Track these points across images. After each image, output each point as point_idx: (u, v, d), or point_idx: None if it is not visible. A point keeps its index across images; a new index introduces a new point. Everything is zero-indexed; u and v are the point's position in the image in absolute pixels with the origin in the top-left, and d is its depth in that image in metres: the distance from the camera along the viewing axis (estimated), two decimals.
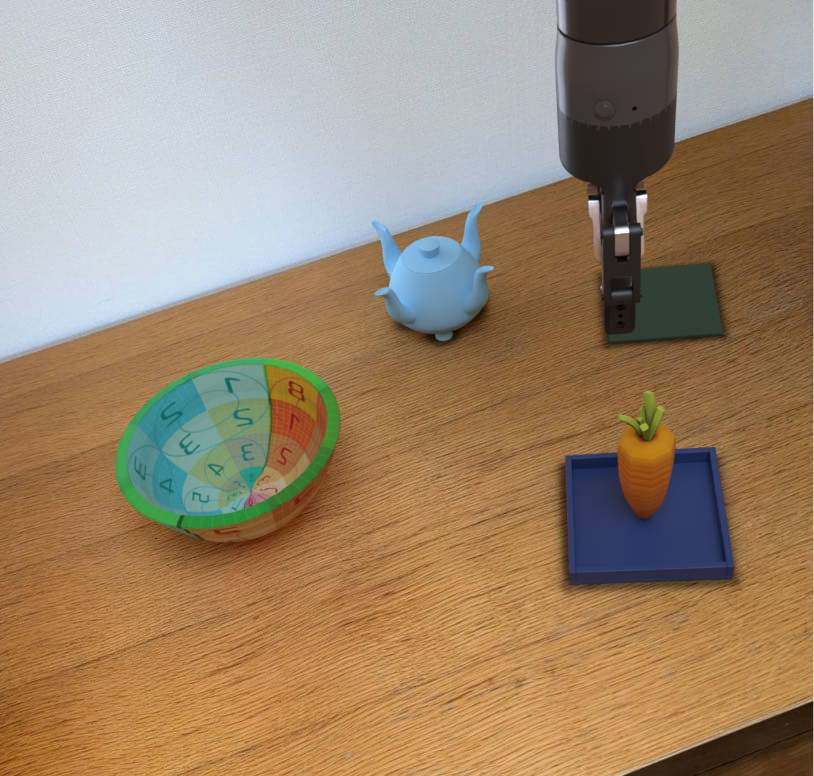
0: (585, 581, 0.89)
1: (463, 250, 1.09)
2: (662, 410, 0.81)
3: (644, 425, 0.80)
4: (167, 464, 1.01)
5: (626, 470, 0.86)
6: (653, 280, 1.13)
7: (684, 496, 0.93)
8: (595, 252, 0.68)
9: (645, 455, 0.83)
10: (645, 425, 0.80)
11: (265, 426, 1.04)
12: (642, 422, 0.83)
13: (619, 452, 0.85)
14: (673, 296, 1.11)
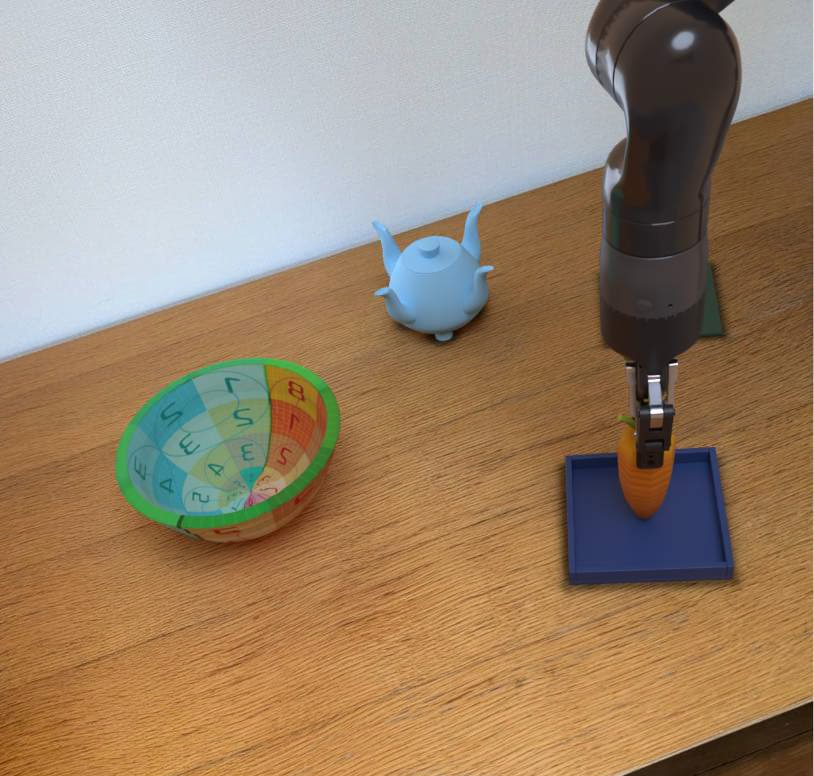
0: (585, 581, 0.89)
1: (463, 250, 1.09)
2: None
3: None
4: (167, 464, 1.01)
5: (626, 470, 0.86)
6: None
7: (684, 496, 0.93)
8: (630, 410, 0.78)
9: None
10: None
11: (265, 426, 1.04)
12: None
13: (619, 452, 0.85)
14: None
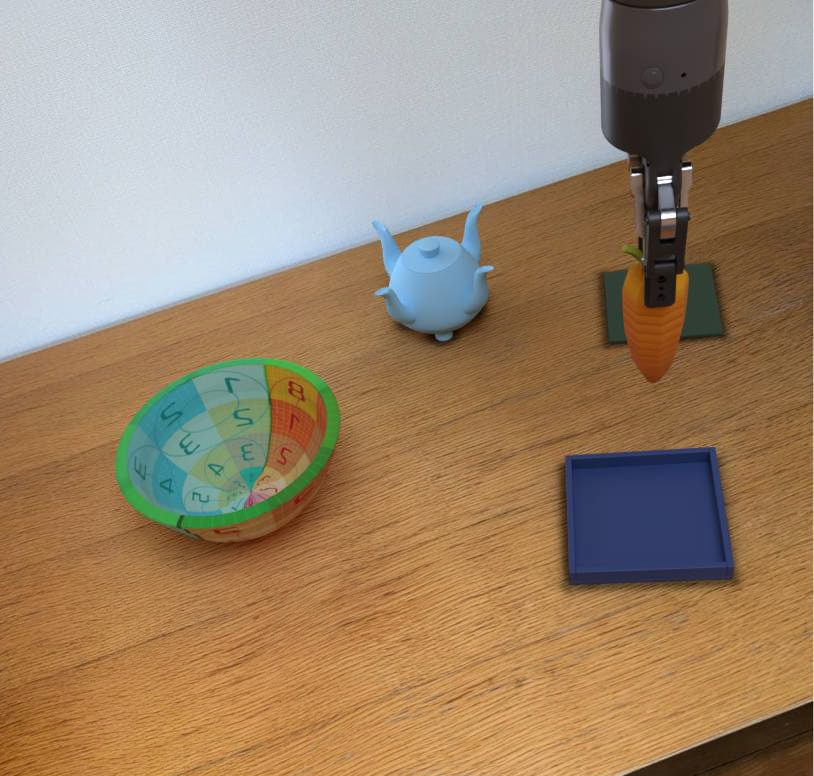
0: (585, 581, 0.89)
1: (463, 250, 1.09)
2: None
3: None
4: (167, 464, 1.01)
5: (632, 316, 0.75)
6: None
7: (684, 496, 0.93)
8: (637, 228, 0.67)
9: None
10: None
11: (265, 426, 1.04)
12: None
13: (624, 294, 0.75)
14: None
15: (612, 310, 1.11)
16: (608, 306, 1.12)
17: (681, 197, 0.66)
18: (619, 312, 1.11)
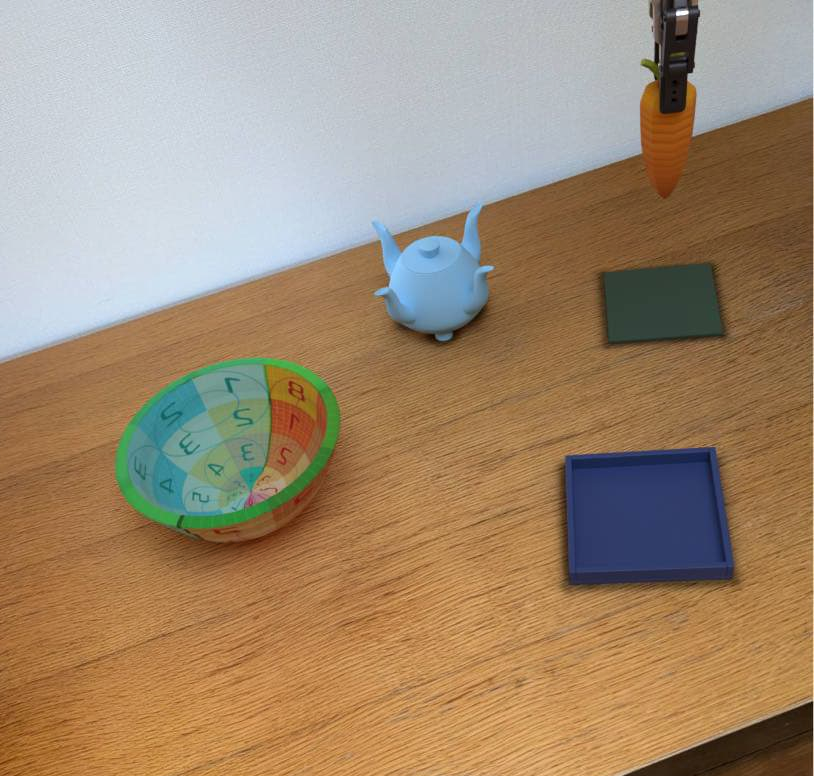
0: (585, 581, 0.89)
1: (463, 250, 1.09)
2: None
3: None
4: (167, 464, 1.01)
5: (648, 126, 0.88)
6: (653, 280, 1.13)
7: (684, 496, 0.93)
8: (655, 34, 0.81)
9: None
10: None
11: (265, 426, 1.04)
12: None
13: (641, 107, 0.88)
14: (673, 296, 1.11)
15: (612, 310, 1.11)
16: (608, 306, 1.12)
17: (692, 6, 0.79)
18: (619, 312, 1.11)
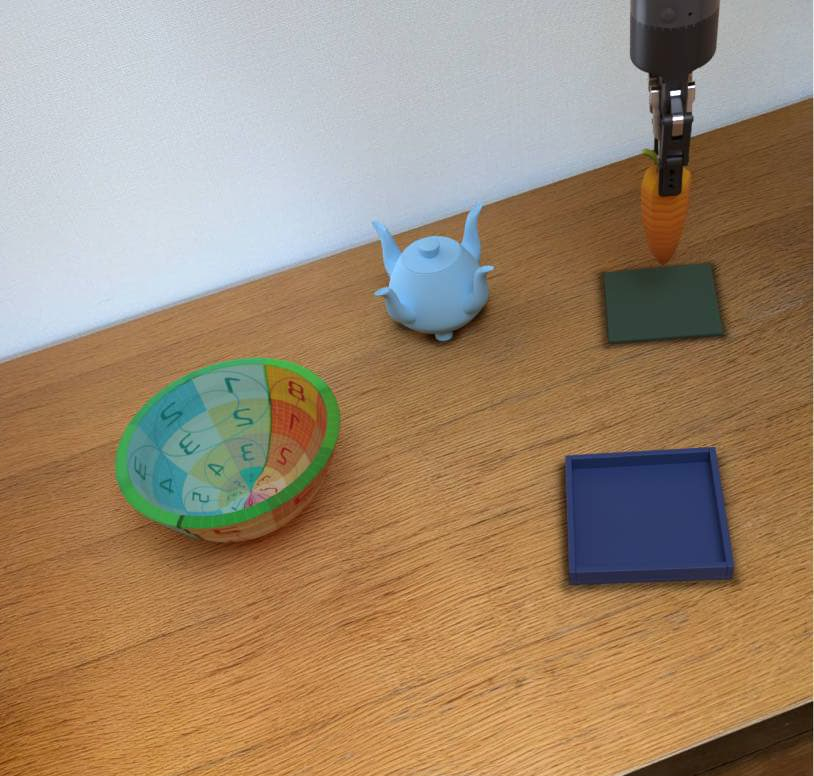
0: (585, 581, 0.89)
1: (463, 250, 1.09)
2: None
3: None
4: (167, 464, 1.01)
5: (648, 205, 1.00)
6: (653, 280, 1.13)
7: (684, 496, 0.93)
8: (655, 132, 0.92)
9: None
10: None
11: (265, 426, 1.04)
12: None
13: (642, 189, 0.99)
14: (673, 296, 1.11)
15: (612, 310, 1.11)
16: (608, 306, 1.12)
17: (687, 108, 0.90)
18: (619, 312, 1.11)
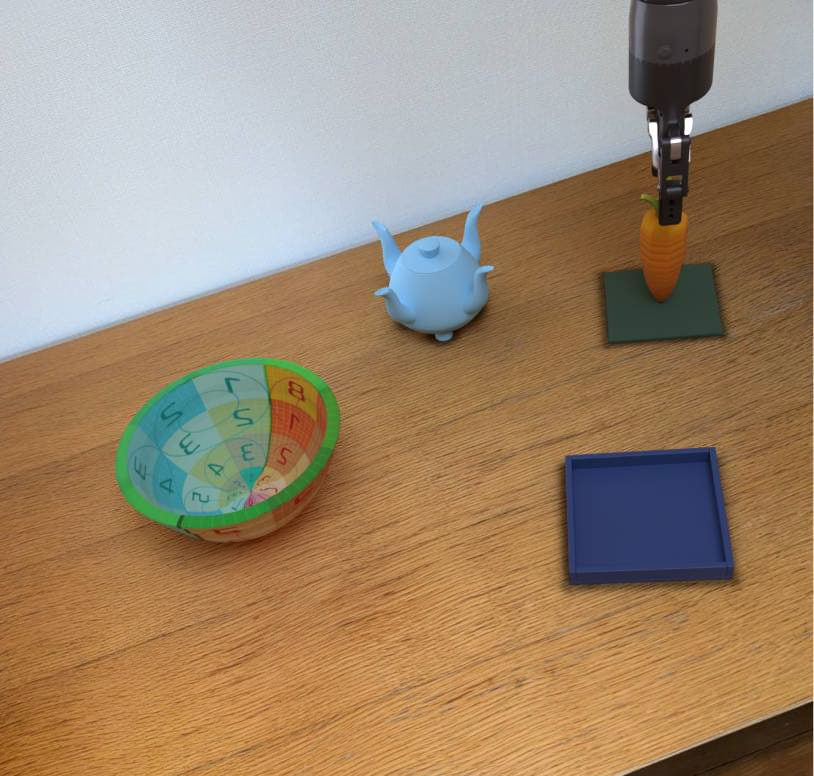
0: (585, 581, 0.89)
1: (463, 250, 1.09)
2: None
3: None
4: (167, 464, 1.01)
5: (647, 247, 1.03)
6: None
7: (684, 496, 0.93)
8: (654, 160, 0.93)
9: (663, 229, 1.01)
10: None
11: (265, 426, 1.04)
12: None
13: (641, 231, 1.03)
14: (673, 296, 1.11)
15: (612, 310, 1.11)
16: (608, 306, 1.12)
17: None
18: (619, 312, 1.11)
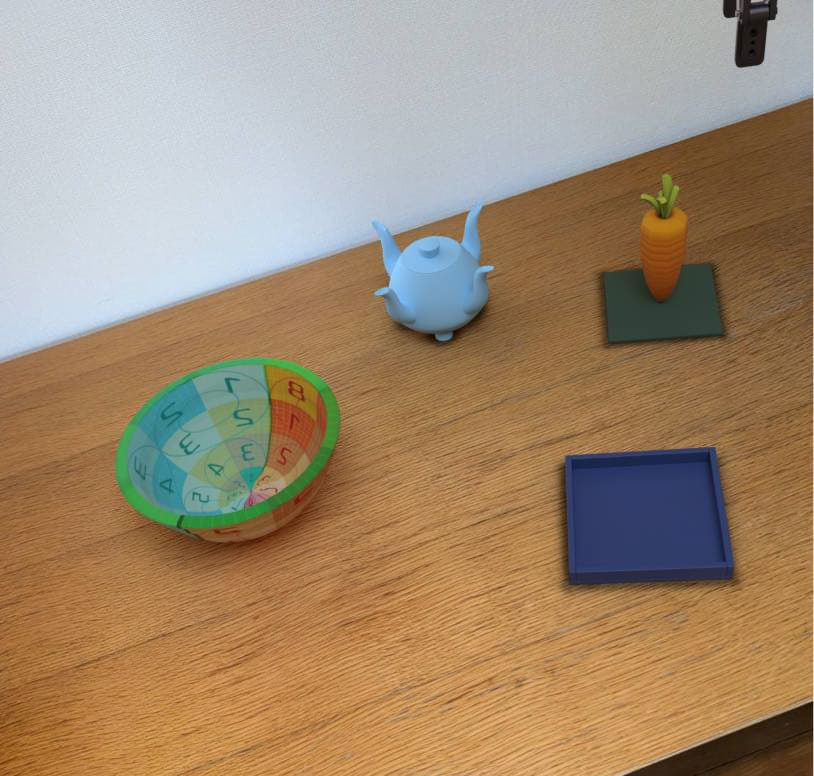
0: (585, 581, 0.89)
1: (463, 250, 1.09)
2: (677, 188, 0.99)
3: (663, 198, 0.98)
4: (167, 464, 1.01)
5: (647, 247, 1.03)
6: None
7: (684, 496, 0.93)
8: None
9: (663, 229, 1.01)
10: (664, 198, 0.98)
11: (265, 426, 1.04)
12: None
13: (641, 231, 1.03)
14: (673, 296, 1.11)
15: (612, 310, 1.11)
16: (608, 306, 1.12)
17: None
18: (619, 312, 1.11)
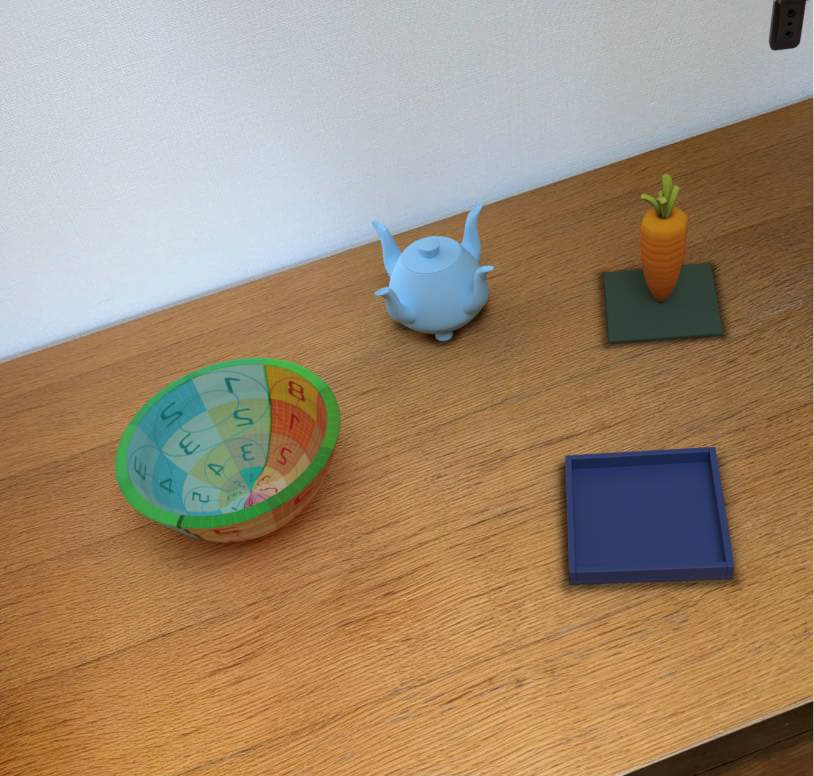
0: (585, 581, 0.89)
1: (463, 250, 1.09)
2: (677, 188, 0.99)
3: (663, 198, 0.98)
4: (167, 464, 1.01)
5: (647, 247, 1.03)
6: None
7: (684, 496, 0.93)
8: None
9: (663, 229, 1.01)
10: (664, 198, 0.98)
11: (265, 426, 1.04)
12: None
13: (641, 231, 1.03)
14: (673, 296, 1.11)
15: (612, 310, 1.11)
16: (608, 306, 1.12)
17: None
18: (619, 312, 1.11)
